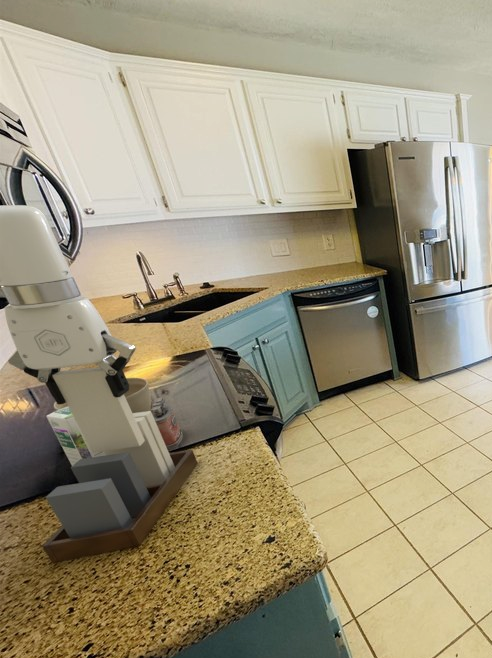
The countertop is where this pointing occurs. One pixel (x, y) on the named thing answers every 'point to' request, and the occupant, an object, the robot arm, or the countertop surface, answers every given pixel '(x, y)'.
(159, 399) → the lighter
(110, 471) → the grey books
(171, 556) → the countertop surface
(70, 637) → the countertop surface
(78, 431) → the syrup box
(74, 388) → the thin white book
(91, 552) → the book caddy
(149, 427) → the white books
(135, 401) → the planter bowl
